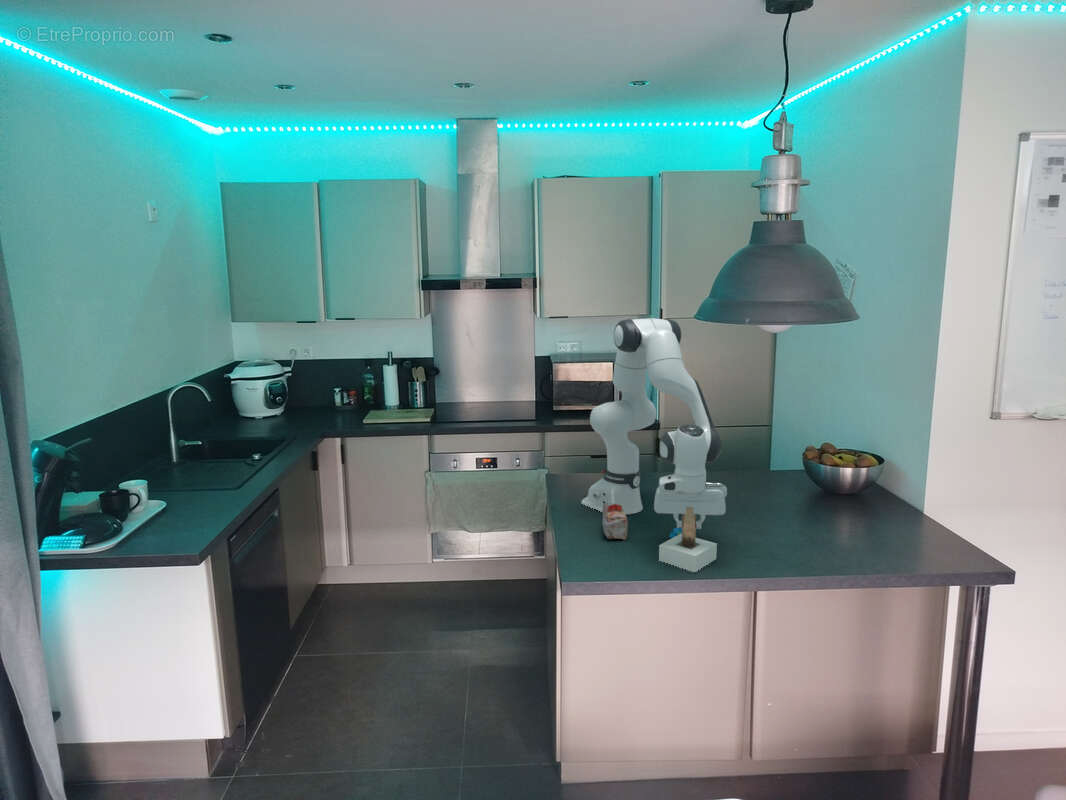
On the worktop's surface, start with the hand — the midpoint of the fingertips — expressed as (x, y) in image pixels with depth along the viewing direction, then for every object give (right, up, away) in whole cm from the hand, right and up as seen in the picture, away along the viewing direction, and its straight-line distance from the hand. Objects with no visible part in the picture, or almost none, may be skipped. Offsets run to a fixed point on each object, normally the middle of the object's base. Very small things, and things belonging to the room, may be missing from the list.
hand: (688, 527), depth 208 cm
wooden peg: (0, -5, +1) cm, 5 cm away
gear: (+2, -7, +18) cm, 20 cm away
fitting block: (0, -10, +2) cm, 10 cm away
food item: (-19, -6, +23) cm, 31 cm away
